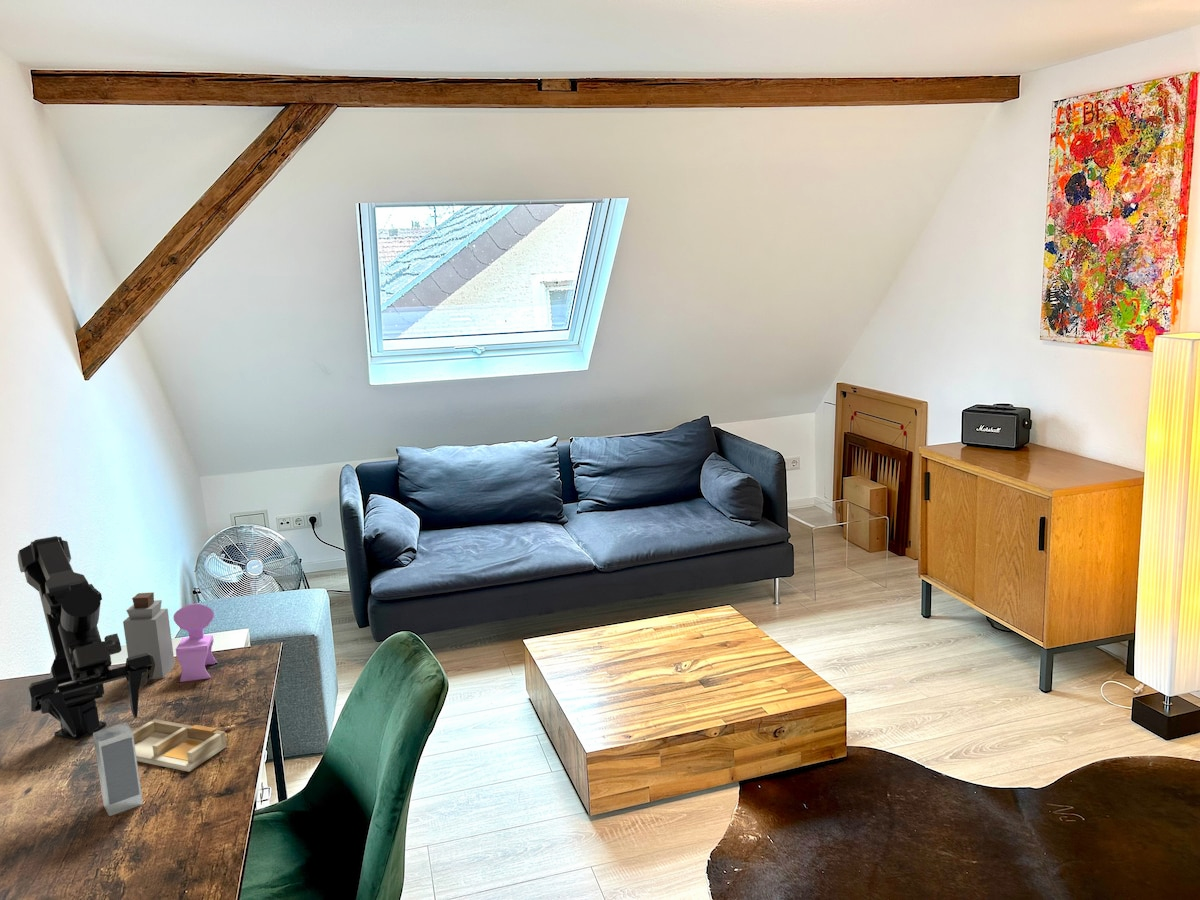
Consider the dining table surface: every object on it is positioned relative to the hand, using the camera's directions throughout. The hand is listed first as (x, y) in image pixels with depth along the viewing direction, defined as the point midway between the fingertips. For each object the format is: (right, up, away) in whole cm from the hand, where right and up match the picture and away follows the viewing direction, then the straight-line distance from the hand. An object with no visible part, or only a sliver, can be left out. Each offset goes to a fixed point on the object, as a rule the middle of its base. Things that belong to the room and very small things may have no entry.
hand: (105, 726), depth 151 cm
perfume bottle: (-17, -4, +50) cm, 53 cm away
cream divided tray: (+4, -9, +15) cm, 18 cm away
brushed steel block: (+4, -12, -2) cm, 13 cm away
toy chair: (-6, -3, +49) cm, 50 cm away
